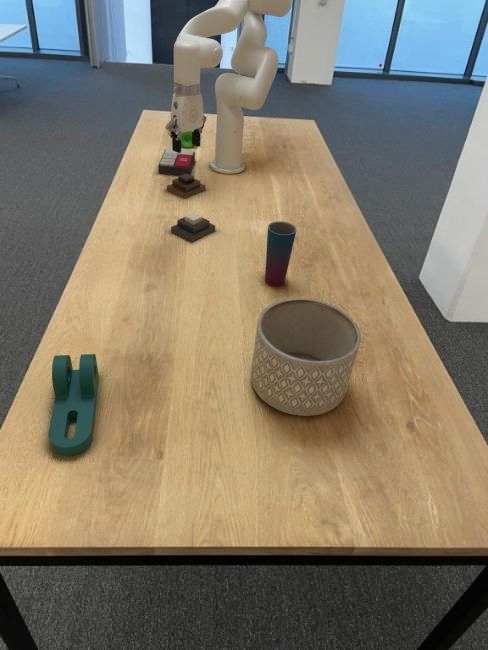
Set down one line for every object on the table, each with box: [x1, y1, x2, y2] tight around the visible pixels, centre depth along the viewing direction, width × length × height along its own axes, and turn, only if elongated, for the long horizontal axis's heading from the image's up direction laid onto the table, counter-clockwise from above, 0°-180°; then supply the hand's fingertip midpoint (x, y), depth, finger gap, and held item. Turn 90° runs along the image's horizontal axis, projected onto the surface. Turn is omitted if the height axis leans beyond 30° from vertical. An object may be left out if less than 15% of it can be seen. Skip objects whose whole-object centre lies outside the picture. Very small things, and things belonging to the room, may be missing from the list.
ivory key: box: [184, 211, 204, 225], centre depth 142 cm, size 4×4×2 cm
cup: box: [264, 220, 297, 287], centre depth 123 cm, size 7×7×15 cm
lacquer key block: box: [170, 216, 216, 243], centre depth 143 cm, size 10×8×4 cm
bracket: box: [47, 353, 100, 457], centre depth 86 cm, size 18×7×8 cm, turn 9°
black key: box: [178, 174, 195, 184], centre depth 164 cm, size 4×4×2 cm
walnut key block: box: [166, 177, 206, 199], centre depth 165 cm, size 10×8×4 cm
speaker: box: [180, 130, 194, 148], centre depth 201 cm, size 18×7×8 cm, turn 6°
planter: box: [250, 297, 362, 417], centre depth 94 cm, size 19×19×14 cm
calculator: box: [157, 148, 196, 177], centre depth 180 cm, size 11×4×15 cm
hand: (186, 148), depth 157 cm, fingers open, 8 cm apart
